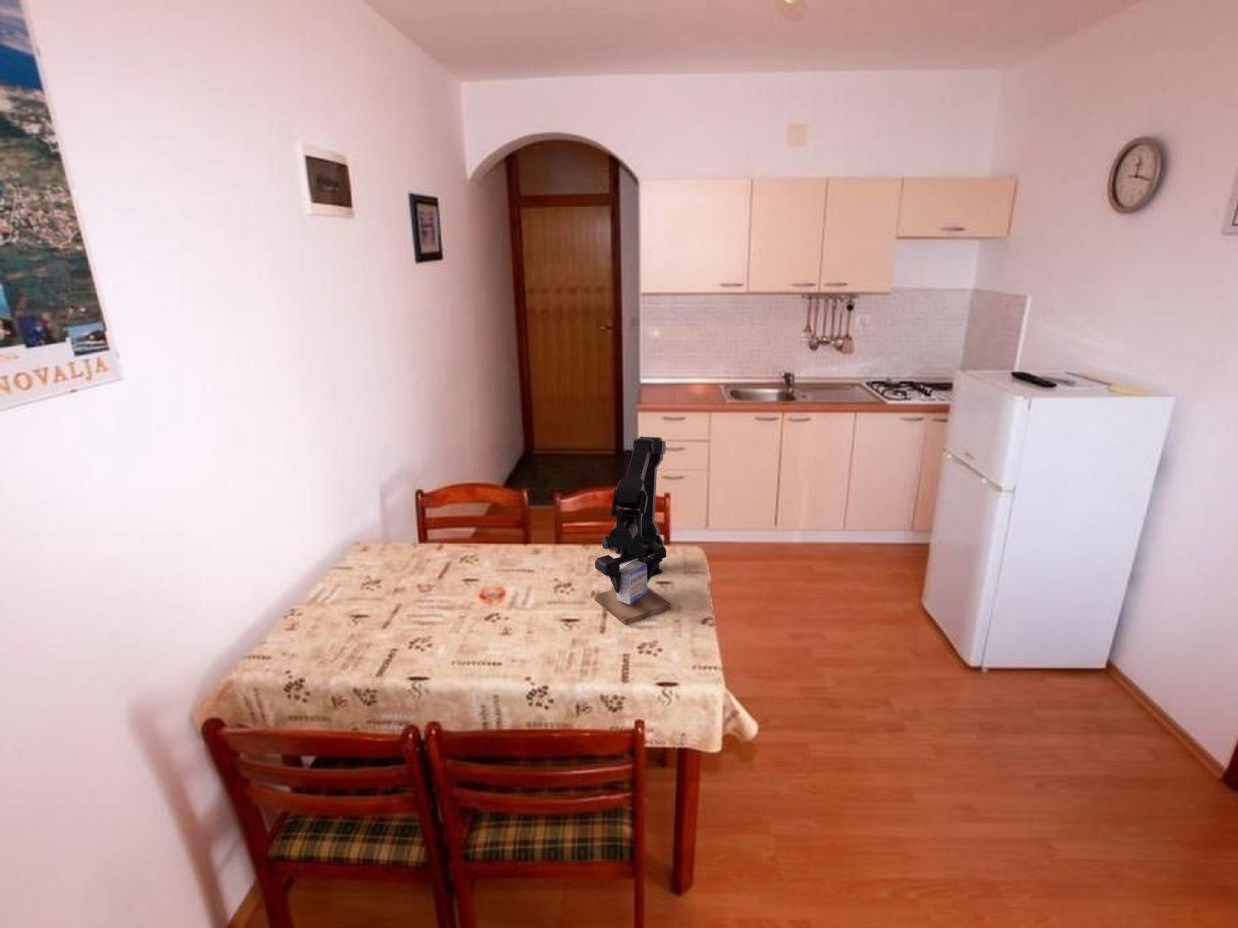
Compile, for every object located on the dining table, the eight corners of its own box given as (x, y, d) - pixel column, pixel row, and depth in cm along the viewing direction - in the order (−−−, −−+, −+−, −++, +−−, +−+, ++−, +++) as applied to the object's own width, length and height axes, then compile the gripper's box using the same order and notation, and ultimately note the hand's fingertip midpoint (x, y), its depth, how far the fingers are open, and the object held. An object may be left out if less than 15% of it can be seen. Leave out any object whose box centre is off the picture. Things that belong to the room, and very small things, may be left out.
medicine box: (630, 605, 167) (629, 575, 165) (616, 600, 170) (615, 570, 167) (648, 593, 173) (647, 563, 171) (634, 588, 176) (633, 559, 173)
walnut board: (638, 585, 182) (638, 580, 181) (670, 608, 170) (670, 603, 169) (594, 600, 175) (594, 595, 174) (625, 625, 163) (625, 619, 162)
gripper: (642, 514, 177) (643, 566, 182) (582, 530, 168) (585, 585, 173) (667, 527, 168) (667, 582, 173) (605, 545, 159) (607, 602, 164)
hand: (631, 587), depth 171 cm, fingers open, 9 cm apart
